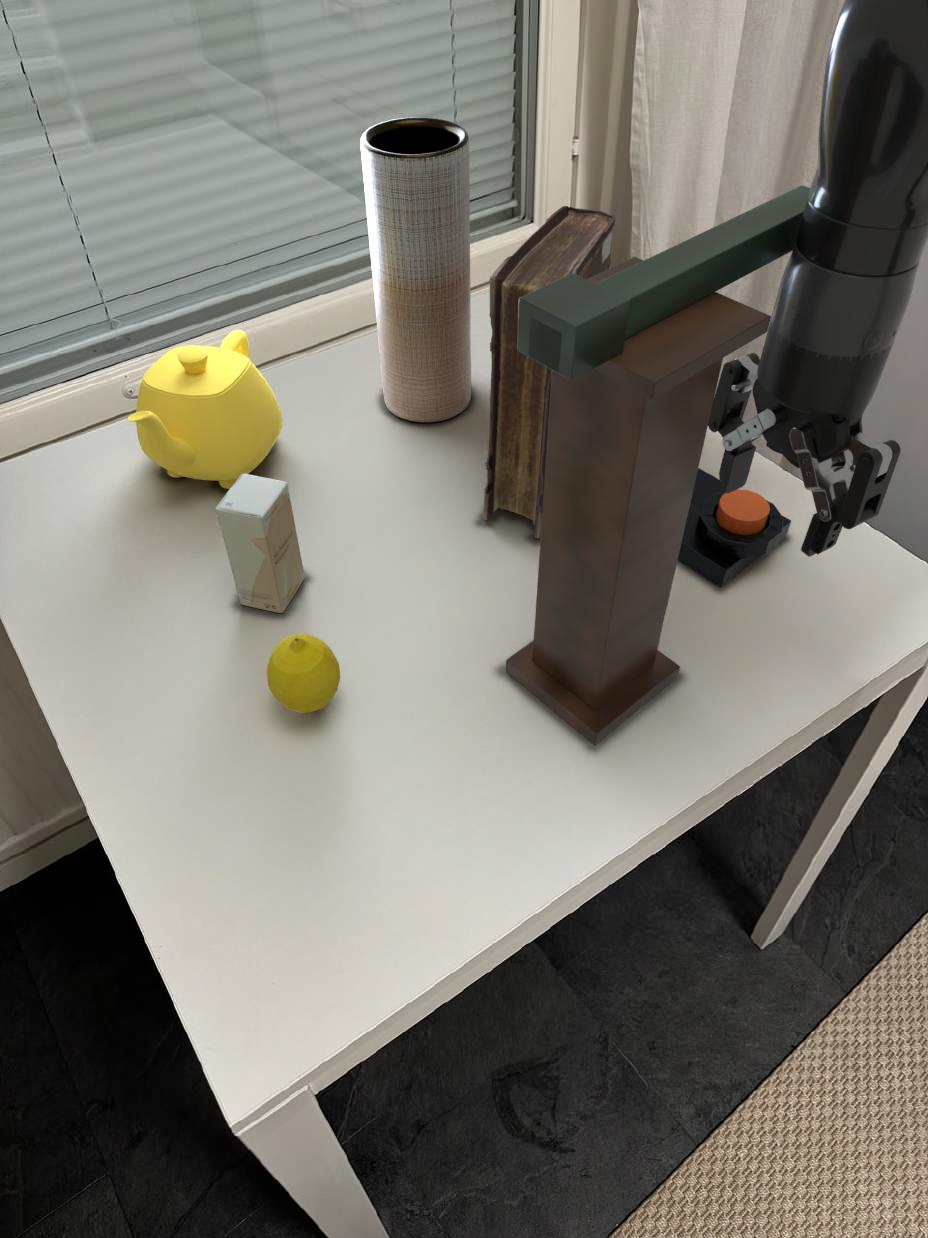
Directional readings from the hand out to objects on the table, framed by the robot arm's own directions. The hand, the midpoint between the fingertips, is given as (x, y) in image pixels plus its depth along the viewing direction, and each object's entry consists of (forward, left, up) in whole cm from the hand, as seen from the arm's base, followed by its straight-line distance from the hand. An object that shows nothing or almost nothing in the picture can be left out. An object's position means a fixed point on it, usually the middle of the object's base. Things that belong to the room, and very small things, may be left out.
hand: (770, 517), depth 67 cm
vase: (+45, -3, -13) cm, 47 cm away
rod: (+5, +9, +19) cm, 22 cm away
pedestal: (+5, +13, -13) cm, 19 cm away
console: (+10, -8, -13) cm, 18 cm away
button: (+6, -8, -9) cm, 14 cm away
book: (+25, -2, -13) cm, 28 cm away
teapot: (+51, +21, -13) cm, 57 cm away
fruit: (+18, +32, -13) cm, 39 cm away
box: (+31, +27, -13) cm, 43 cm away
